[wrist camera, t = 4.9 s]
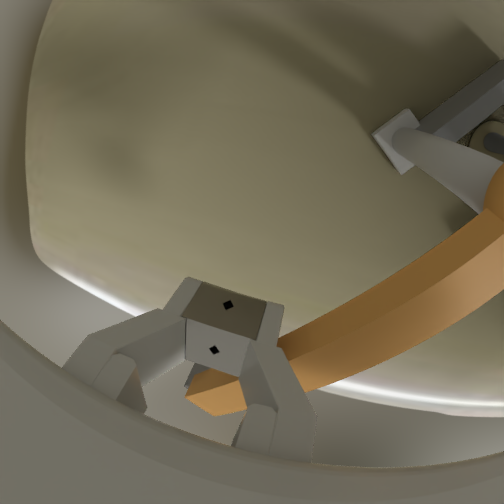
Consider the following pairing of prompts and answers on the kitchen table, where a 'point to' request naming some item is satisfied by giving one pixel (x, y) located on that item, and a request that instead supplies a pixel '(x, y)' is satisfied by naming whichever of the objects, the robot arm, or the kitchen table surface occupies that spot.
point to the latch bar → (384, 312)
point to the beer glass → (489, 139)
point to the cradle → (448, 139)
